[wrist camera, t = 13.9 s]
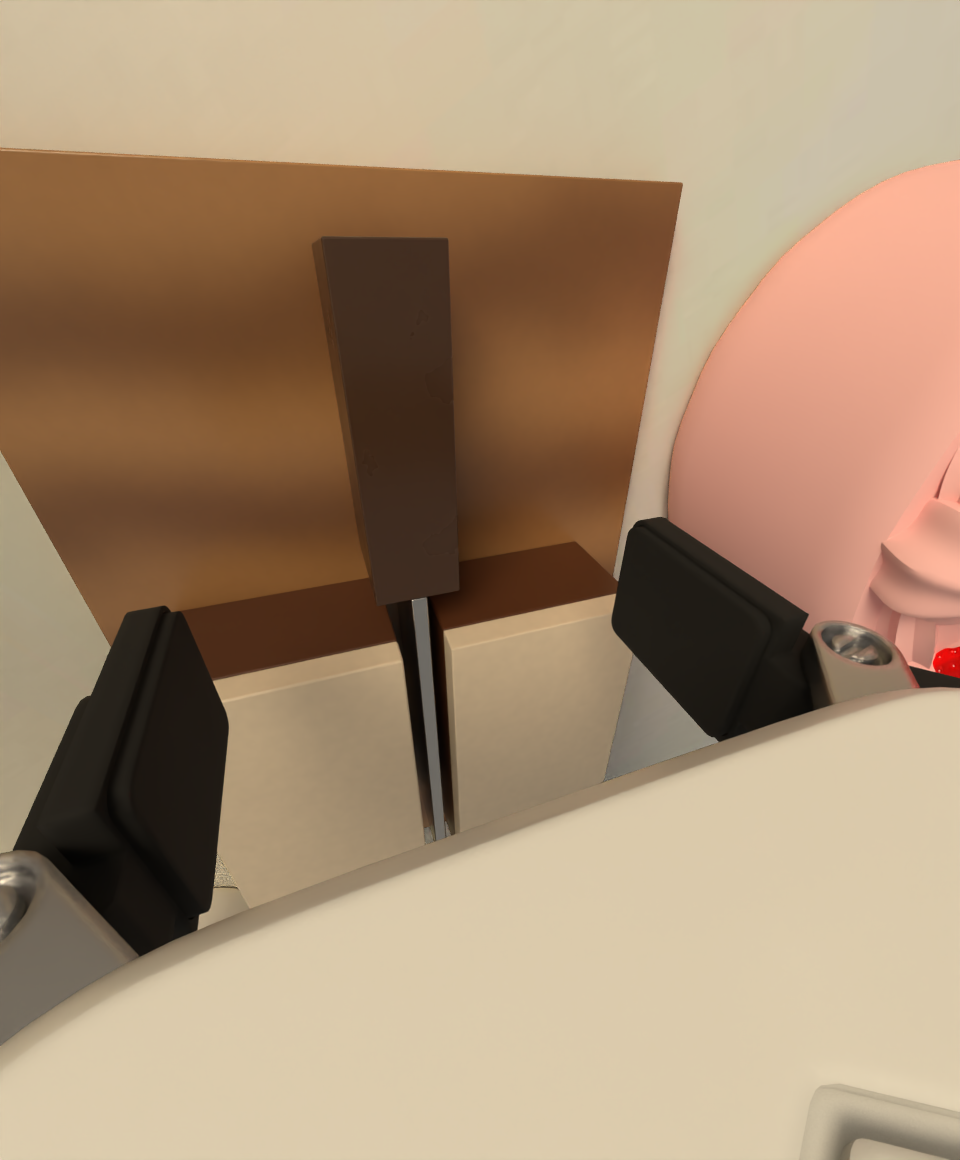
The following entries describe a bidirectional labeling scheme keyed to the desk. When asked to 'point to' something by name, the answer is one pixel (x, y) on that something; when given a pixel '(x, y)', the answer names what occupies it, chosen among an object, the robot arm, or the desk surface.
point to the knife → (399, 442)
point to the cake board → (305, 363)
